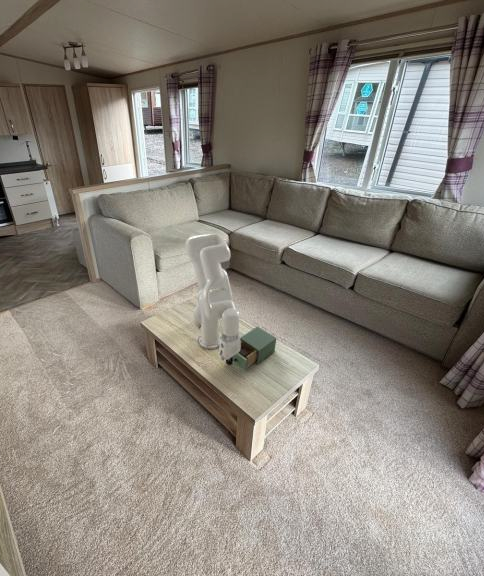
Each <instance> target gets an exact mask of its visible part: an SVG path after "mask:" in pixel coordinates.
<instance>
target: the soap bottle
mask: <svg viewBox="0 0 484 576" xmlns="http://www.w3.org/2000/svg"><path fill="white" fill-rule="evenodd" d="M202 291H203V290H202V289H200V291H199V292H198V293H197V294H196V296H195V297H196V298H195V299H196V301H197V304H196V306H195V308H194V310H193V314H192V317H193V320H194V323H196V324H197V325H199V326H201V309H200V304H199V297H200V295H202ZM210 291H213V290H212V289H211V290H210Z"/></svg>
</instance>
